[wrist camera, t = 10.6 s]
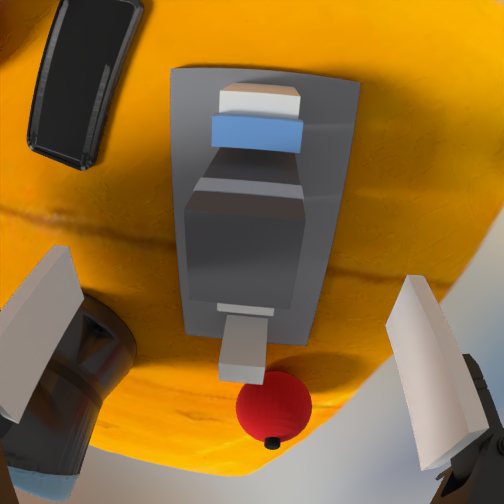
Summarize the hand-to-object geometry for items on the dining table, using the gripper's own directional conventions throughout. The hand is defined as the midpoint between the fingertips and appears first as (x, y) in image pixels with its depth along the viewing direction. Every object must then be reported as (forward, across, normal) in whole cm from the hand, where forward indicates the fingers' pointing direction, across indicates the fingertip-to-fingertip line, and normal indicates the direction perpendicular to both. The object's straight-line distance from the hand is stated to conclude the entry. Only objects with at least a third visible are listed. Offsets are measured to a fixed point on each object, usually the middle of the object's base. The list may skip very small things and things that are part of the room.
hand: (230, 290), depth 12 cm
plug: (+14, 0, 0) cm, 14 cm away
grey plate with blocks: (+14, 0, -6) cm, 16 cm away
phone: (+15, -14, +7) cm, 22 cm away
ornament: (+15, +4, -27) cm, 31 cm away
